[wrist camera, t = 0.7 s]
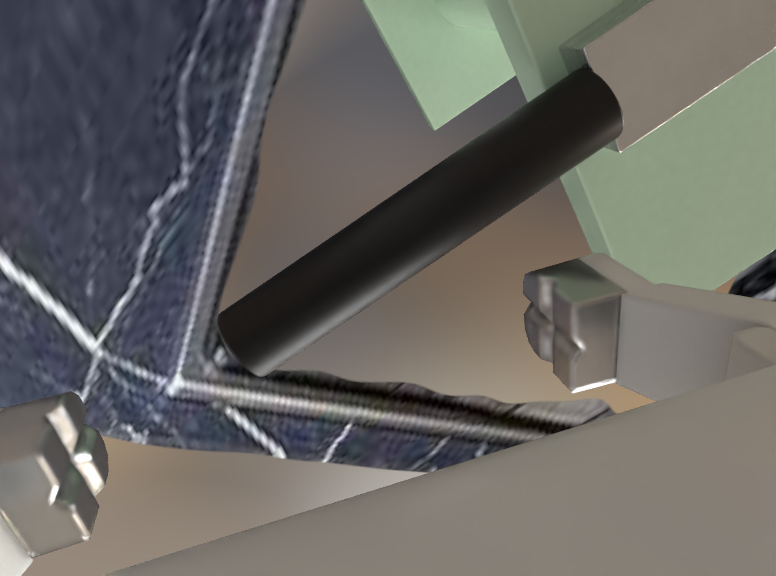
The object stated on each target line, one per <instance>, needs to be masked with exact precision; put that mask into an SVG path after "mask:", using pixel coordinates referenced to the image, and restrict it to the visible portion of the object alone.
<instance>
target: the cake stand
mask: <svg viewBox="0 0 776 576" xmlns="http://www.w3.org/2000/svg"><path fill="white" fill-rule="evenodd" d="M361 1H362V3H363V5H364V7H365V9H366V10H367V12H368V14H369V16H370V18H371V20H372V21H373V23H374V25H375V27H376V29H377V31H378V32H379V34H380V36H381V38H382V40H383V42H384V44H385V45H386V47H387V49H388V51H389V53H390V55H391V57H392V58H393V60H394V62H395V63H396V65H397V68H398V69H399V71H400V73H401V75H402V77H403V79H404V80H405V82H406V84H407V86H408V88H409V90H410V92H411V93H412V95H413V97H414V99H415V101H416V103H417V104H418V106H419V108H420V110H421V112H422V114H423V115H424V117H425V119H426V121H427V123H428V125H429V126H430V128H431V129H433V130H436V129H438V128H439V127H441V126H442V125H444V124H445V123H446V122H448V121H449V120H451V119H452V118H454V117H455V116H457V115H458V114H460V113H461V112H462V111H464V110H465V109H467V108H468V107H470V106H471V105H472V104H474V103H476V102H477V101H478V100H480V99H481V98H483V97H484V96H486V95H487V94H488V93H490V92H491V91H493V90H495V89H496V88H497V87H499V86H500V85H502V84H503V83H505V82H506V81H508V80H509V79H511V78H512V77H513V76H515V75H516V76H517V78H518V80H519V83H520V85H521V87H522V89H523V92H524V94H525V97H526V99H527V101H528V102H530V101H531V100H533V99H534V98H536V97H537V96H538V95H540V94H541V93H543V92H544V91H546V90H547V89H549V88H550V87H552V86H553V85H555V84H556V83H557V82H559V81H560V80H562V79H563V78H565V77H566V76H568V75H569V74H568V72H567V69H566V66H565V64H564V61H563V58H562V56H561V53H560V50H559V46H560V45H561V44H562V43H564V42H565V41H567V40H568V39H570V38H571V37H573V36H574V35H575V34H577V33H578V32H580V31H581V30H583V29H584V28H586V27H587V26H589V25H590V24H592V23H593V22H594V21H596V20H597V19H599V18H600V17H602V16H603V15H605V14H606V13H608V12H609V11H610V10H612V9H613V8H615V7H616V6H618V5H619V4H621V3H622V2H624V1H625V0H361ZM560 179H561V181H562V183H563V186H564V188H565V190H566V193H567V195H568V197H569V199H570V202H571V204H572V207H573V209H574V211H575V214H576V216H577V218H578V221H579V223H580V225H581V227H582V230H583V232H584V235H585V237H586V239H587V242H588V244H589V246H590V248H591V251H592V253H604V254H606V255H608V256H609V257H611V258H612V259H614V260H616V261H617V262H619V263H621V264H622V265H624V266H625V267H627V268H629V269H630V270H632V271H634V272H635V273H637V274H638V275H640V276H642V277H643V278H645V279H647V280H648V281H650V282H651V283H653V284H655V285H656V284H660V283H667V284H673V285H679V286H685V287H691V288H696V289H702V290H708V291H713V290H714V289H716V288H717V287H719V286H720V285H722V284H724V283H725V282H727V281H728V280H730V279H731V278H733V277H734V276H736V275H737V274H739V273H740V272H742V271H743V270H745V269H746V268H748V267H749V266H751V265H752V264H754V263H755V262H757V261H758V260H760V259H761V258H763V257H765V256H766V255H768V254H769V253H771V252H772V251H774V250H775V249H776V48H775V49H774V50H773V51H771V52H770V53H768V54H767V55H765V56H764V57H762V58H761V59H759V60H758V61H756V62H755V63H753V64H752V65H750V66H749V67H747V68H746V69H744V70H743V71H741V72H740V73H738V74H737V75H735V76H734V77H732V78H731V79H730V80H728V81H727V82H725V83H724V84H722V85H721V86H719V87H718V88H716V89H715V90H713V91H712V92H710V93H709V94H707V95H706V96H704V97H703V98H701V99H700V100H698V101H697V102H695V103H694V104H692V105H691V106H689V107H688V108H687V109H685V110H684V111H682V112H681V113H679V114H678V115H676V116H675V117H673V118H672V119H670V120H669V121H667V122H666V123H664V124H663V125H661V126H660V127H658V128H657V129H655V130H654V131H652V132H651V133H649V134H648V135H646V136H645V137H644V138H642V139H641V140H639V141H638V142H636V143H635V144H633V145H632V146H630V147H629V148H627V149H626V150H624V151H623V152H621V153H619V152H616V151H613V150H610V149H607V148H604V147H603V148H602V149H600V150H599V151H597V152H596V153H594V154H593V155H591V156H590V157H589V158H587V159H586V160H584V161H583V162H581V163H580V164H578V165H577V166H575V167H574V168H572V169H571V170H569V171H568V172H566V173H565V174H563V175H562V176H560Z"/></svg>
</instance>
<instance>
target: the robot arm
mask: <svg viewBox="0 0 776 576" xmlns="http://www.w3.org/2000/svg"><path fill="white" fill-rule="evenodd" d="M523 294H524V295H525V296H526V297H527V298H528V299H529V300H530V301H531V303H530V305H529V307H528V308H527V310H526V312H525V314H524V322H525V330H526V334H527V337H528V340H529V343H530V345H531V347H532V348H533V350H534V352H535V353H536V354H537V355H538V356H539V358H540V359H542V360H545V361H548V362H552V363H553V373H554V374H555V375H556V376H557V377H558V378H559V379H560V380H561V381H562V383H563V384H564V385H565V386H566V387H567V388H568V389H569V390H570V391H571V392H572V393H576V392H580V391H583V390H587V389H591V388H594V387H598V386H602V385H605V384H609V383H613V382H616V384H618V385H620V386H622V387H625V388H627V389H629V390H631V391H634V392H636V393H638V394H641V395H643V396H645V397H648V398H650V399H652V400H655V401H657V402H654V403H651V404H648V405H645V406H641V407H638V408H635V409H632V410H628V411H625V412H622V413H619V414H616V415H612V416H609V417H606V418H603V419H600V420H596V421H593V422H590V423H587V424H584V425H580V426H577V427H574V428H571V429H568V430H565V431H561V432H558V433H555V434H552V435H549V436H545V437H542V438H539V439H536V440H533V441H529V442H526V443H523V444H520V445H517V446H514V447H510V448H507V449H504V450H501V451H498V452H494V453H491V454H488V455H485V456H482V457H478V458H475V459H472V460H469V461H466V462H463V463H459V464H456V465H453V466H450V467H447V468H443V469H440V470H437V471H434V472H431V473H427V474H424V475H421V476H418V477H415V478H412V479H409V480H405V481H402V482H399V483H396V484H392V485H389V486H386V487H383V488H380V489H376V490H373V491H370V492H367V493H364V494H360V495H357V496H354V497H351V498H348V499H344V500H341V501H338V502H335V503H332V504H329V505H326V506H322V507H319V508H316V509H313V510H309V511H306V512H303V513H300V514H297V515H294V516H290V517H287V518H284V519H281V520H278V521H274V522H271V523H268V524H265V525H261V526H258V527H255V528H252V529H249V530H245V531H242V532H239V533H236V534H233V535H230V536H226V537H223V538H220V539H217V540H214V541H211V542H207V543H204V544H201V545H198V546H194V547H191V548H188V549H185V550H182V551H179V552H175V553H172V554H169V555H166V556H163V557H159V558H156V559H153V560H150V561H146V562H144V563H140V564H137V565H134V566H131V567H128V568H124V569H121V570H118V571H115V572H111V573H108V574H105V575H102V576H776V302H773V301H767V300H761V299H756V298H750V297H744V296H738V295H732V294H726V293H720V292H714V291H708V290H702V289H696V288H691V287H685V286H679V285H673V284H667V283H660V284H656V285H655V284H653V283H651V282H650V281H648V280H647V279H645V278H643V277H642V276H640V275H638V274H637V273H635V272H634V271H632V270H630V269H629V268H627V267H625V266H624V265H622V264H621V263H619V262H617V261H616V260H614V259H612V258H611V257H609V256H608V255H606V254H604V253H593V254H590V255H587V256H584V257H580V258H577V259H574V260H570V261H566V262H563V263H559V264H556V265H552V266H549V267H545V268H542V269H539V270H535V271H531V272H529V273H526V274H525V276H524V281H523ZM86 414H87V409H86V407H85V405H84V404H83V402H82V400H81V399H80V397H79V395H77V394H75V393H73V392H71V391H70V392H66V393H62V394H58V395H54V396H49V397H45V398H41V399H37V400H33V401H29V402H25V403H21V404H16V405H12V406H9V407H2V408H0V576H21V575H22V574H23V573H24V571H25V570H26V569H27V568H28V566H29V565H30V564H31V563H32V561H33V560H32V558H35V557H38V556H41V555H44V554H47V553H50V552H53V551H56V550H59V549H62V548H65V547H69V546H71V545H74V544H78V543H81V542H83V541H87V540H89V539H90V537H91V534H92V530H93V527H94V523H95V520H96V516H97V513H98V509H99V504H98V503H97V501H96V499H95V498H94V496H95V495H96V494H97V493H98V492H99V491H100V490H101V489H102V488H103V487H104V486H105V484H106V479H107V476H108V454H107V451H106V447H105V444H104V441H103V439H102V437H101V435H100V433H99V431H98V430H96V429H94V428H92V427H90V426H88V425H86V424H84V423H83V422H84V420H85V417H86Z"/></svg>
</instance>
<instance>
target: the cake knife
mask: <svg viewBox="0 0 776 576" xmlns="http://www.w3.org/2000/svg"><path fill="white" fill-rule="evenodd" d="M775 48H776V0H625V1H624V2H622V3H621V4H619V5H618V6H616V7H615V8H613V9H612V10H610V11H609V12H608V13H606V14H605V15H603V16H602V17H600V18H599V19H597V20H596V21H594V22H593V23H592V24H590V25H589V26H587V27H586V28H584V29H583V30H581V31H580V32H578V33H577V34H575V35H574V36H573V37H571V38H570V39H568V40H567V41H565V42H564V43H562V44H561V45H560V46H559V50H560V53H561V56H562V58H563V61H564V64H565V66H566V69H567V72H568V74H569V75H568V76H566V77H565V78H563V79H562V80H560V81H559V82H557V83H556V84H555V85H553V86H552V87H550V88H549V89H547V90H546V91H544V92H543V93H541V94H540V95H538V96H537V97H536V98H534V99H533V100H531V101H530V102H528V103H527V104H525V105H524V106H522V107H521V108H519V109H518V110H517V111H515V112H514V113H512V114H511V115H509V116H508V117H506V118H505V119H503V120H502V121H501V122H499V123H497V124H496V125H495V126H493V127H492V128H490V129H489V130H487V131H486V132H485V133H483V134H481V135H480V136H478V137H477V138H476V139H474V140H473V141H471V142H470V143H468V144H467V145H465V146H464V147H462V148H461V149H459V150H458V151H457V152H456V153H454V154H452V155H451V156H449V157H448V158H446V159H445V160H443V161H442V162H441V163H439V164H438V165H436V166H435V167H433V168H432V169H430V170H429V171H427V172H426V173H424V174H423V175H421V176H420V177H418V178H417V179H416V180H414V181H413V182H411V183H410V184H408V185H407V186H405V187H404V188H402V189H401V190H399V191H398V192H397V193H395V194H394V195H392V196H391V197H389V198H388V199H386V200H385V201H383V202H382V203H380V204H379V205H377V206H376V207H375V208H373V209H372V210H370V211H369V212H367V213H366V214H365V215H363V216H361V217H360V218H358V219H357V220H356V221H354V222H353V223H351V224H350V225H348V226H347V227H345V228H344V229H343V230H341V231H340V232H338V233H337V234H335V235H334V236H332V237H331V238H329V239H328V240H326V241H325V242H323V243H322V244H320V245H319V246H318V247H316V248H315V249H313V250H312V251H310V252H309V253H307V254H306V255H305V256H303V257H301V258H300V259H298V260H297V261H296V262H294V263H293V264H291V265H290V266H288V267H287V268H285V269H284V270H282V271H281V272H280V273H278V274H277V275H275V276H274V277H272V278H271V279H269V280H268V281H266V282H265V283H263V284H262V285H260V286H259V287H258V288H256V289H255V290H253V291H252V292H250V293H249V294H247V295H246V296H244V297H243V298H242V299H240V300H239V301H237V302H236V303H234V304H233V305H231V306H230V307H228V308H227V309H226V310H224V311H222V312H221V313H220V314H219V316H218V326H219V330H220V332H221V335H222V337H223V339H224V341H225V343H226V345H227V346H228V348H229V349H230V351H231V352H232V354H233V355H234V356H235V358H236V359H237V360H238V361H239V362H240V363H241V364H242V365H243V366H244V367H245V368H246V369H247V370H248V371H249V372H251V373H252V374H254V375H256V376H258V377H263V376H266V375H267V374H269V373H270V372H272V371H273V370H275V369H276V368H278V367H279V366H281V365H282V364H284V363H285V362H286V361H288V360H290V359H291V358H292V357H294V356H296V355H297V354H298V353H300V352H301V351H303V350H304V349H306V348H307V347H309V346H310V345H312V344H313V343H315V342H316V341H318V340H319V339H321V338H322V337H324V336H325V335H326V334H328V333H330V332H331V331H332V330H334V329H335V328H337V327H338V326H340V325H341V324H343V323H344V322H346V321H347V320H349V319H350V318H352V317H353V316H355V315H356V314H358V313H359V312H361V311H362V310H364V309H365V308H367V307H368V306H370V305H371V304H372V303H374V302H375V301H377V300H378V299H380V298H381V297H383V296H384V295H386V294H387V293H389V292H390V291H392V290H393V289H395V288H396V287H398V286H399V285H400V284H402V283H403V282H405V281H407V280H408V279H409V278H411V277H412V276H414V275H415V274H417V273H418V272H420V271H421V270H423V269H424V268H426V267H427V266H429V265H430V264H432V263H433V262H435V261H436V260H438V259H439V258H440V257H442V256H444V255H445V254H446V253H448V252H449V251H451V250H452V249H454V248H455V247H457V246H458V245H460V244H461V243H463V242H464V241H465V240H467V239H468V238H470V237H472V236H473V235H475V234H476V233H477V232H479V231H480V230H482V229H483V228H485V227H486V226H488V225H489V224H491V223H492V222H494V221H495V220H497V219H498V218H500V217H501V216H503V215H504V214H506V213H507V212H509V211H510V210H512V209H513V208H514V207H516V206H518V205H519V204H520V203H522V202H523V201H525V200H526V199H528V198H529V197H531V196H532V195H534V194H535V193H537V192H538V191H540V190H541V189H543V188H544V187H546V186H547V185H548V184H550V183H552V182H553V181H554V180H556V179H557V178H559V177H560V176H562V175H563V174H565V173H566V172H568V171H569V170H571V169H572V168H574V167H575V166H577V165H578V164H580V163H581V162H583V161H584V160H586V159H587V158H589V157H590V156H591V155H593V154H594V153H596V152H597V151H599V150H600V149H602V148H603V147H604V148H607V149H610V150H613V151H616V152H619V153H621V152H623V151H624V150H626V149H627V148H629V147H630V146H632V145H633V144H635V143H636V142H638V141H639V140H641V139H642V138H644V137H645V136H646V135H648V134H649V133H651V132H652V131H654V130H655V129H657V128H658V127H660V126H661V125H663V124H664V123H666V122H667V121H669V120H670V119H672V118H673V117H675V116H676V115H678V114H679V113H681V112H682V111H684V110H685V109H687V108H688V107H689V106H691V105H692V104H694V103H695V102H697V101H698V100H700V99H701V98H703V97H704V96H706V95H707V94H709V93H710V92H712V91H713V90H715V89H716V88H718V87H719V86H721V85H722V84H724V83H725V82H727V81H728V80H730V79H731V78H732V77H734V76H735V75H737V74H738V73H740V72H741V71H743V70H744V69H746V68H747V67H749V66H750V65H752V64H753V63H755V62H756V61H758V60H759V59H761V58H762V57H764V56H765V55H767V54H768V53H770V52H771V51H773V50H774V49H775Z"/></svg>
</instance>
